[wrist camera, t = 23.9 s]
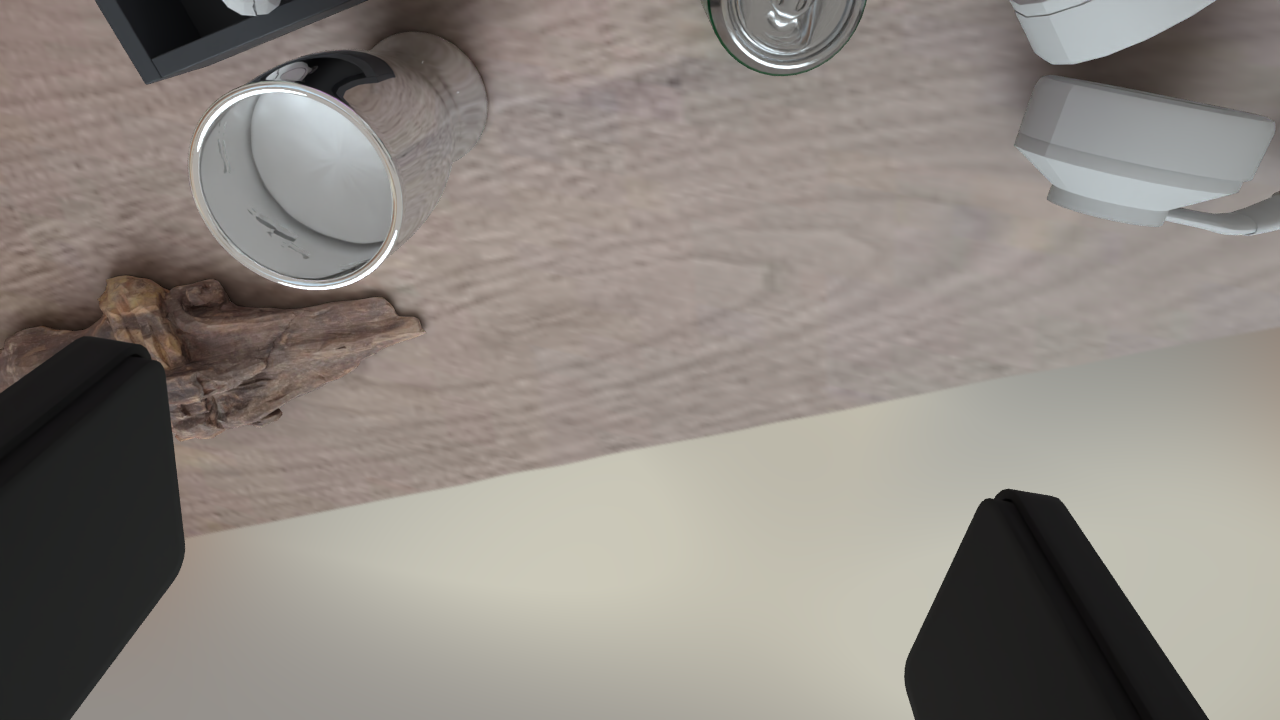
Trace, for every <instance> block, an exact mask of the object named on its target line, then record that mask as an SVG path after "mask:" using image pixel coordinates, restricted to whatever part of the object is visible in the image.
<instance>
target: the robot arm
mask: <svg viewBox="0 0 1280 720" xmlns="http://www.w3.org/2000/svg"><path fill="white" fill-rule="evenodd" d="M184 553H185V541H184V532H183V523H182V514H181V506H180V497H179V488H178V479H177V470H176V462H175V453H174V444H173V435H172V427H171V418H170V409H169V400H168V391H167V383H166V374H165V370H164V367H163V365H162V364H161V363H160V362H158V361H157V360H152V359H151V355H150V353H149V352H148V350H147V348H145V347H144V346H142V345H141V344H135V343H129V342H123V341H117V340H111V339H105V338H99V337H93V336H83V337H80V338H78V339H76V340H74V341H73V342H72V343H70V344H69V345H67V346H66V347H65V348H63V349H62V350H60V351H59V352H58V353H56V354H55V355H53V356H52V357H50V358H49V359H48V360H46V361H45V362H43V363H42V364H41V365H39V366H38V367H36V368H35V369H34V370H32V371H31V372H29V373H28V374H27V375H25V376H24V377H22V378H21V379H19V380H18V381H17V382H15V383H14V384H12V385H11V386H10V387H8V388H7V389H5V390H4V391H3V392H1V393H0V720H70V719H71V718H72V716H73V715H74V713H75V712H76V711H77V710H78V708H79V707H80V706H81V704H82V703H83V701H84V700H85V699H86V698H87V696H88V695H89V693H90V692H91V691H92V689H93V688H94V687H95V686H96V684H97V683H98V681H99V680H100V679H101V678H102V676H103V675H104V674H105V672H106V671H107V669H108V668H109V667H110V665H111V664H112V662H113V661H114V660H115V659H116V657H117V656H118V654H119V653H120V652H121V651H122V649H123V648H124V647H125V645H126V644H127V643H128V641H129V640H130V639H131V637H132V636H133V635H134V633H135V632H136V631H137V629H138V628H139V626H140V625H141V624H142V623H143V621H144V620H145V619H146V617H147V616H148V615H149V613H150V612H151V611H152V609H153V608H154V607H155V605H156V604H157V603H158V601H159V600H160V598H161V597H162V596H163V594H164V593H165V592H166V591H167V589H168V588H169V586H170V585H171V584H172V583H173V581H174V580H175V578H176V577H177V575H178V573H179V571H180V568H181V566H182V563H183V559H184ZM904 678H905V686H906V691H907V695H908V698H909V701H910V704H911V707H912V711H913V714H914V717H915V720H1209V719H1208V718H1207V716H1206V715H1205V713H1204V711H1203V710H1202V709H1201V707H1200V706H1199V704H1198V703H1197V701H1196V700H1195V698H1194V697H1193V695H1192V694H1191V692H1190V691H1189V689H1188V688H1187V686H1186V685H1185V683H1184V682H1183V680H1182V679H1181V677H1180V676H1179V674H1178V673H1177V672H1176V670H1175V669H1174V667H1173V665H1172V664H1171V662H1170V661H1169V659H1168V658H1167V657H1166V655H1165V654H1164V652H1163V651H1162V649H1161V648H1160V646H1159V645H1158V643H1157V642H1156V640H1155V639H1154V637H1153V636H1152V634H1151V633H1150V631H1149V630H1148V628H1147V627H1146V625H1145V624H1144V622H1143V621H1142V620H1141V618H1140V616H1139V615H1138V613H1137V612H1136V610H1135V609H1134V608H1133V606H1132V605H1131V603H1130V602H1129V600H1128V599H1127V597H1126V596H1125V594H1124V593H1123V591H1122V590H1121V588H1120V587H1119V586H1118V584H1117V582H1116V581H1115V579H1114V578H1113V576H1112V575H1111V574H1110V572H1109V570H1108V569H1107V567H1106V566H1105V564H1104V563H1103V561H1102V560H1101V559H1100V557H1099V556H1098V554H1097V553H1096V551H1095V550H1094V548H1093V547H1092V545H1091V544H1090V542H1089V541H1088V539H1087V538H1086V536H1085V535H1084V533H1083V532H1082V530H1081V529H1080V527H1079V526H1078V524H1077V523H1076V521H1075V520H1074V518H1073V517H1072V516H1071V514H1070V513H1069V511H1068V509H1067V508H1066V506H1065V505H1064V504H1063V503H1062V502H1061V501H1060V500H1059V498H1056V497H1053V496H1048V495H1042V494H1036V493H1030V492H1024V491H1018V490H1012V489H1005V490H1002V491H1001V492H1000V493H998V494H997V495H996V496H995V498H994V499H991V498H988V499H985V500H984V501H982V502H981V504H980V505H979V507H978V508H977V510H976V513H975V515H974V517H973V519H972V521H971V523H970V525H969V527H968V530H967V532H966V534H965V536H964V538H963V540H962V543H961V544H960V547H959V549H958V551H957V553H956V555H955V557H954V559H953V562H952V564H951V566H950V568H949V570H948V572H947V574H946V577H945V578H944V581H943V583H942V585H941V587H940V589H939V591H938V593H937V596H936V598H935V600H934V602H933V604H932V606H931V608H930V610H929V613H928V615H927V617H926V619H925V621H924V623H923V625H922V628H921V629H920V632H919V634H918V636H917V638H916V640H915V642H914V644H913V647H912V649H911V651H910V653H909V655H908V658H907V660H906V665H905V675H904Z"/></svg>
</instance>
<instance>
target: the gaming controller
mask: <svg viewBox="0 0 1280 720" xmlns="http://www.w3.org/2000/svg"><path fill="white" fill-rule="evenodd" d="M222 1H223V2H224V3H225V4H226V6H227V7H228V8H230V9H232V10H234V11H235V12H237V13H239V14H241V15H249V16H257V15H263V14H268V13H270V12H271V11H272V10H274V9H275V8H276V7H278V6H279V4H280V1H281V0H222Z"/></svg>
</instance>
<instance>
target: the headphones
mask: <svg viewBox="0 0 1280 720" xmlns="http://www.w3.org/2000/svg"><path fill="white" fill-rule="evenodd" d="M1214 1H1216V0H1010V2H1011V4H1012V6H1013V8H1014V10H1015V13H1016V15H1017V18H1018V20H1019V22H1020V24H1021V26H1022V28H1023V30H1024V32H1025V34H1026V36H1027V38H1028V40H1029V42H1030V44H1031V47H1032V49H1033V51H1034V53H1035V54H1037V55H1038V56H1040V57H1041V58H1043V59H1044V60H1046V61H1047V62H1049V63H1051V64H1077V63H1081V62H1085V61H1088V60H1092V59H1096V58H1100V57H1104V56H1107V55H1110V54H1112V53H1115V52H1117V51H1120V50H1122V49H1125V48H1127V47H1130V46H1132V45H1135V44H1137V43H1140V42H1142V41H1145V40H1147V39H1149V38H1151V37H1153V36H1155V35H1157V34H1158V33H1160V32H1162V31H1164V30H1166V29H1168V28H1170V27H1172V26H1174V25H1176V24H1178V23H1179V22H1181V21H1183V20H1185V19H1187V18H1189V17H1191V16H1192V15H1194V14H1195V13H1197V12H1199V11H1200V10H1202V9H1203V8H1205V7H1206V6H1208V5H1209V4H1211V3H1212V2H1214ZM1018 132H1019V133H1018V135H1017V138H1016V141H1015V144H1014V146H1015V147H1016V148H1017V149H1018V150H1019V151H1020V152H1021V153H1022V154H1023V155H1024V156H1025V157H1026V158H1027V159H1028V160H1029V161H1030V162H1031V163H1032V164H1033V165H1034V166H1035V167H1036V168H1037V169H1038V170H1039V171H1040V172H1041V173H1042V174H1043V175H1044V176H1045V177H1046V178H1047V179H1048V180H1049V181H1050V182H1051V183H1052V186H1051V189H1050V191H1049V194H1048V196H1047V200H1048V201H1050V202H1052V203H1054V204H1056V205H1059V206H1061V207H1064V208H1067V209H1070V210H1073V211H1076V212H1080V213H1083V214H1087V215H1091V216H1095V217H1099V218H1103V219H1108V220H1112V221H1117V222H1122V223H1128V224H1133V225H1141V226H1152V227H1159V226H1162V225H1163V223H1164V221H1170V222H1175V223H1179V224H1184V225H1188V226H1193V227H1197V228H1202V229H1206V230H1209V231H1212V232H1216V233H1219V234H1225V235H1247V236H1249V235H1255V234H1260V233H1265V232H1270V231H1276V230H1279V229H1280V191H1278V192H1276V193H1274V194H1273V195H1272V197H1271V198H1268V199H1266V200H1263V201H1261V202H1259V203H1256V204H1254V205H1251V206H1249V207H1246V208H1243V209H1240V210H1237V211H1234V212H1231V213H1220V214H1212V213H1205V212H1199V211H1194V210H1189V209H1184V208H1180V207H1184V206H1188V205H1192V204H1196V203H1200V202H1204V201H1207V200H1211V199H1215V198H1219V197H1223V196H1227V195H1231V194H1235V193H1238V192H1239V189H1240V187H1241V185H1242V183H1243V181H1245V182H1246V181H1251V180H1252V179H1253V177H1254V175H1255V173H1256V171H1257V169H1258V167H1259V164H1260V162H1261V160H1262V158H1263V156H1264V154H1265V152H1266V150H1267V148H1268V146H1269V144H1270V142H1271V140H1272V138H1273V136H1274V134H1275V122H1274V121H1272V120H1271V119H1269V118H1268V117H1265V116H1261V115H1257V114H1253V113H1248V112H1244V111H1239V110H1234V109H1229V108H1225V107H1220V106H1215V105H1210V104H1205V103H1200V102H1195V101H1190V100H1185V99H1180V98H1175V97H1170V96H1165V95H1160V94H1155V93H1150V92H1144V91H1139V90H1134V89H1129V88H1124V87H1118V86H1113V85H1108V84H1102V83H1097V82H1091V81H1086V80H1081V79H1075V78H1069V77H1063V76H1057V75H1047V76H1042V77H1041V78H1040V79H1039V80H1038V82H1037V83H1036V84H1035V86H1034V89H1033V92H1032V95H1031V98H1030V100H1029V103H1028V106H1027V109H1026V112H1025V114H1024V117H1023V120H1022V123H1021V126H1020V128H1019V131H1018Z"/></svg>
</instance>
